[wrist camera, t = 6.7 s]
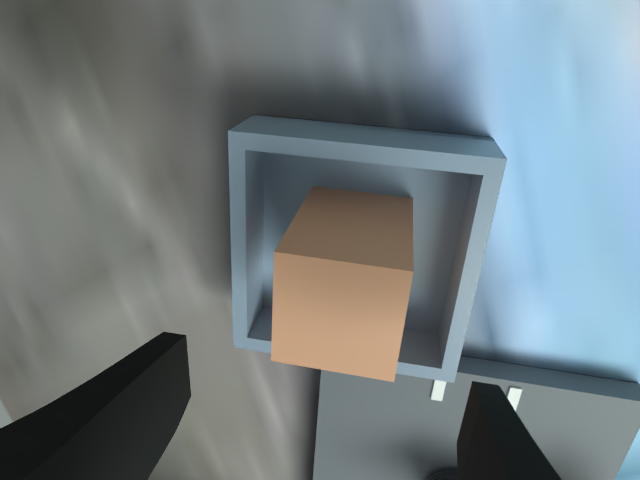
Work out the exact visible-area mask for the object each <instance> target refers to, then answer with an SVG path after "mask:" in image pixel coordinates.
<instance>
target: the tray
mask: <svg viewBox="0 0 640 480" xmlns="http://www.w3.org/2000/svg"><path fill="white" fill-rule="evenodd" d="M228 156H229V194H230V232H231V270H232V309H233V347H237V348H243V349H249V350H255V351H261V352H267V353H271V341H272V305H273V270H274V251H275V249H276V248H277V246H278V244H279V243H280V241H281V239H282V237H283V236H284V234H285V232H286V231H287V229H288V227H289V226H290V224H291V222H292V220H293V219H294V217H295V215H296V214H297V212H298V210H299V208H300V207H301V205H302V203H303V202H304V200H305V198H306V197H307V195H308V193H309V191H310V190H311V188H312V186H317V187H325V188H333V189H342V190H350V191H358V192H366V193H374V194H382V195H390V196H399V197H407V198H413V251H414V273H413V278H412V284H411V290H410V295H409V301H408V307H407V312H406V318H405V324H404V329H403V335H402V341H401V346H400V352H399V358H398V363H397V369H396V374H402V375H408V376H414V377H421V378H427V379H433V380H439V381H445V382H451V383H454V382H455V377H456V373H457V369H458V365H459V360H460V356H461V352H462V348H463V343H464V339H465V335H466V331H467V327H468V322H469V318H470V314H471V310H472V305H473V301H474V297H475V293H476V288H477V284H478V280H479V276H480V271H481V267H482V263H483V259H484V255H485V250H486V246H487V242H488V238H489V233H490V229H491V225H492V221H493V216H494V212H495V208H496V204H497V199H498V195H499V191H500V187H501V183H502V178H503V174H504V170H505V166H506V161H507V158H506V157H505V155H504V154H503V152H502V151H501V149H500V148H499V146H498V145H497V143H496V142H495V140H494V139H493V138H491V137H481V136H471V135H460V134H450V133H439V132H429V131H418V130H408V129H397V128H387V127H376V126H366V125H356V124H345V123H335V122H324V121H314V120H303V119H293V118H282V117H272V116H261V115H253V116H251V117H250V118H248V119H246V120H245V121H243V122H241V123H240V124H238V125H237V126H235V127H233V128H232V129H230V130H228Z"/></svg>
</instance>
